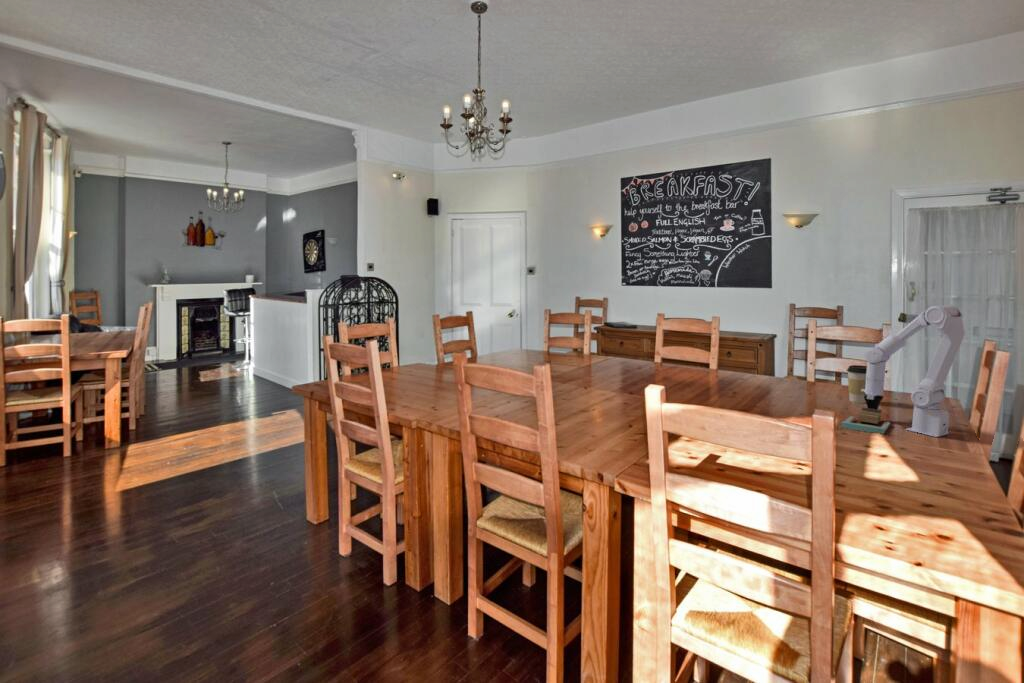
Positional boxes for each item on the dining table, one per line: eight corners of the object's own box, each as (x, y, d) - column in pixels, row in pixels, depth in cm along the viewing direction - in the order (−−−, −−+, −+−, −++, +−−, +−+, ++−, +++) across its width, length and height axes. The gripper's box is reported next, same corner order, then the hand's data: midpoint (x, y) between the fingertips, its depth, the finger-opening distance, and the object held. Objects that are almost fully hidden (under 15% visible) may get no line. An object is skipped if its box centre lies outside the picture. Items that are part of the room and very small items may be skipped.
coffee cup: (877, 404, 221) (880, 369, 220) (853, 404, 222) (856, 369, 220) (862, 398, 231) (865, 364, 229) (839, 398, 231) (842, 365, 229)
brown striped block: (861, 418, 200) (862, 407, 200) (880, 421, 196) (881, 410, 196) (857, 422, 195) (858, 411, 194) (877, 425, 191) (878, 413, 190)
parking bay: (849, 419, 200) (850, 414, 200) (889, 425, 191) (890, 420, 191) (841, 427, 189) (841, 422, 189) (883, 434, 181) (883, 429, 181)
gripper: (866, 375, 205) (863, 409, 207) (858, 380, 194) (855, 416, 196) (888, 377, 200) (885, 412, 202) (881, 383, 190) (878, 420, 192)
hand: (872, 414), depth 199 cm, fingers closed
